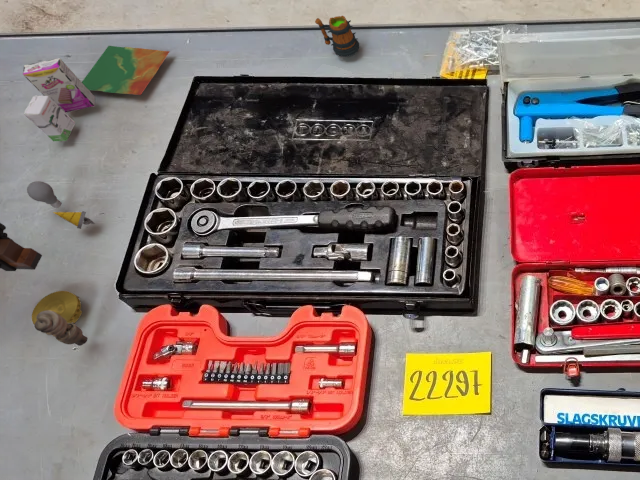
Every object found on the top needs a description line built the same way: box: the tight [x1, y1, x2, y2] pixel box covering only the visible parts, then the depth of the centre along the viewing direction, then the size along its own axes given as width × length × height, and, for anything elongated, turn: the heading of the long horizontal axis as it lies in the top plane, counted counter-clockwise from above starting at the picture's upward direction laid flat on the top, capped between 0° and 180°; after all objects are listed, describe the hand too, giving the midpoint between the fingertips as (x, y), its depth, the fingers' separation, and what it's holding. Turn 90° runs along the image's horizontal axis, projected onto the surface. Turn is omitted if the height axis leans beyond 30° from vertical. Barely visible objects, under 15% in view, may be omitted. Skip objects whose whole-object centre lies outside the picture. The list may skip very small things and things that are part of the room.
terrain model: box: [81, 45, 171, 96], centre depth 192 cm, size 25×22×1 cm
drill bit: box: [52, 210, 96, 230], centre depth 159 cm, size 5×5×10 cm
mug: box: [314, 15, 361, 58], centre depth 190 cm, size 13×10×12 cm
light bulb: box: [26, 180, 63, 209], centre depth 161 cm, size 6×6×10 cm
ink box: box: [23, 95, 76, 142], centre depth 174 cm, size 9×5×12 cm, turn 1°
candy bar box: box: [22, 57, 96, 114], centre depth 177 cm, size 11×5×16 cm, turn 108°
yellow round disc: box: [31, 290, 83, 325], centre depth 148 cm, size 12×12×2 cm
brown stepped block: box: [0, 238, 43, 271], centre depth 137 cm, size 12×4×8 cm, turn 87°
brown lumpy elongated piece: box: [33, 310, 88, 347], centre depth 138 cm, size 6×6×15 cm
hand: (15, 261), depth 140 cm, fingers closed on brown stepped block, 4 cm apart
